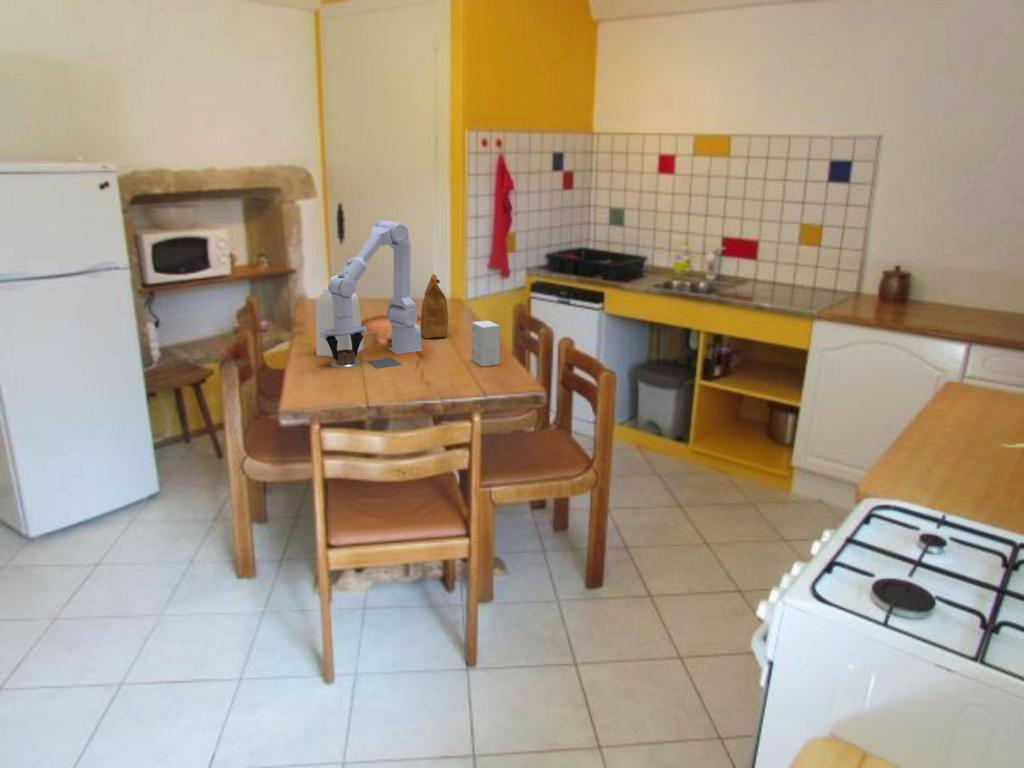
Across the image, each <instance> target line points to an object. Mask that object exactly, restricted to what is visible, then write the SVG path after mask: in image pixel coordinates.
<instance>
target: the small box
mask: <svg viewBox="0 0 1024 768" xmlns="http://www.w3.org/2000/svg"><path fill="white" fill-rule="evenodd" d="M500 333H501V325H499V324H496V323H495V322H493V321H491V320H481V321H472V322H471V361H472V362H474V363H476V364H477V365H479V366H481V367H490V366H496V365H497V366H498V365H500V360H501V358H500V356H501V355H500V354H501V353H500V347H501V345H500V341H501V335H500Z"/></svg>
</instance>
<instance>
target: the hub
mask: <svg viewBox="0 0 1024 768" xmlns="http://www.w3.org/2000/svg"><path fill="white" fill-rule="evenodd" d="M341 354H349V353H348V352H342V353H341ZM360 364H361V361H360V360H359V359H356V358H355V363H354V364H352V365H338V364H336V361H335V359H334V360H332V361H331V362H330V365H331V366H332V367H333V368H338V369H351V368H355V367H357V366H360Z"/></svg>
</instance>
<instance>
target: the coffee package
mask: <svg viewBox="0 0 1024 768" xmlns="http://www.w3.org/2000/svg"><path fill="white" fill-rule="evenodd" d="M440 282H441V281H440V280H439V278H438V276H437V275H436V274H435V273H433V274H431V276H430V279H429V282H428V284H427V286H426V289H425V292H424V297H423V301H422V305H421V309H420V310H421V313H420V330H421V331H422V333H421V337H423V338H424V339H434V338H444V337H448V328H449V327H448V326H449V310H448V301H447V297H446V295H445V294H444V293H443V292H444V291H442V289H441V288H440V287H439V285H438V284H440Z"/></svg>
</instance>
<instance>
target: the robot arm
mask: <svg viewBox="0 0 1024 768" xmlns="http://www.w3.org/2000/svg"><path fill="white" fill-rule="evenodd" d="M386 245H388V246H390V248H391V249H392V250H393V287H392V288H393V296H392V297H391V299H389V301H388V307H387V310H386V314H385V315H386V318H387V320H388V322H390V323H389V324H390V325H391V347H388V348H387V349H388V350H389V351H391V352H393V353H395V354H397V355H398V354H404V353H405V354H406V353H412V352H418V351H419V352H420V351H423V349H422V333H421V326H420V325H418V324H417V321H418V317H419V314H418V311H417V308H416V307H417V304H416V303H415V302H414V300H413V299H412V297H411V253H412V251H411V248H412V247H411V241H410V238H409V227H408V226H406V225H405V224H404V223H403V222H400V221H390V220H385V219H379V220H377V221H376V222H375V223H374V226H373V227H371V230H370V235H369V237H368V238H367V240H366V241H365V242H364V245H363V247H361V249H360V251H359V253H358V254H357V255H356V256H355V257H354V256H353V257H350V258H348V259H347V261H346V264H345V265H344V267H343V268H342V270H341V271H339V272H338V274H337V275H338V276H337V277H334V276H333V277H334V278H333V279H332V280H331V281H330V280H329V284H328V286H327V287H328V290H329V292H330V293H331V295H332V299H333V312H334V329H330V330H326V331H320V336H321V338H322V339H324V338H325V339H326V341H327V342H328V344H329V346H330V349H331V351H332V355H333V357H332V358H333V359H334V360H338V354H337V343H338V340H336V338H335V337H336V336H344V335H350V336H351V342H352V350H353V351H355V358H357V356H358V353H359V352H358V348H359V345H360V343H361V341H362V339H363V338H364V335H363V334H368V328H367V327H366V326H365V325H364V326H363V325H361V326H360V327H353V316H352V294H353V293H355V291H356V289H357V288H356V286H357V284H358V281H359V280H360V278H361V277H362V276H363V275H364V273H365V271H367V263H368V261H370V259H371V258H372V257H373V256H374V254H375V253H377V251H378V250H379V248H380V247H383V246H386ZM363 340H364V339H363Z"/></svg>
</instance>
